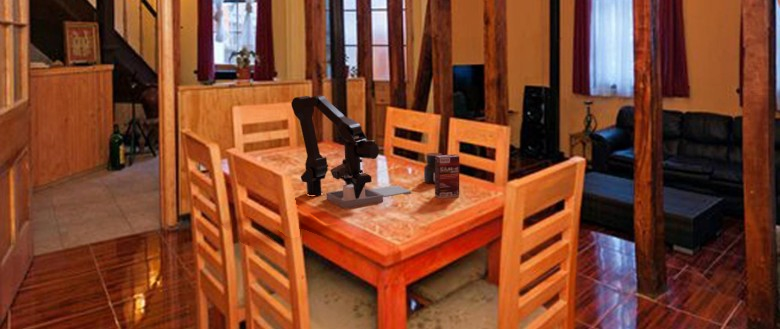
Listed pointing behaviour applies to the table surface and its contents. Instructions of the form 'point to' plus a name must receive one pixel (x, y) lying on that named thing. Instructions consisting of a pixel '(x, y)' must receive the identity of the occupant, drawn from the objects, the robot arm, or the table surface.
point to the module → (351, 192)
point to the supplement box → (447, 176)
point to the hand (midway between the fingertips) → (354, 197)
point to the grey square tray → (369, 199)
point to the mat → (391, 190)
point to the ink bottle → (430, 168)
